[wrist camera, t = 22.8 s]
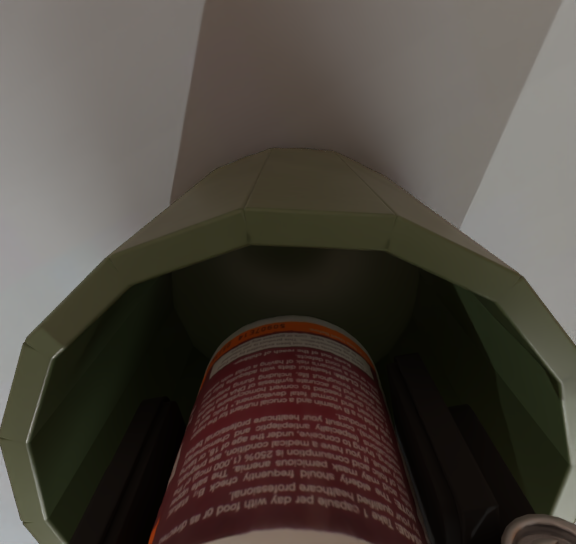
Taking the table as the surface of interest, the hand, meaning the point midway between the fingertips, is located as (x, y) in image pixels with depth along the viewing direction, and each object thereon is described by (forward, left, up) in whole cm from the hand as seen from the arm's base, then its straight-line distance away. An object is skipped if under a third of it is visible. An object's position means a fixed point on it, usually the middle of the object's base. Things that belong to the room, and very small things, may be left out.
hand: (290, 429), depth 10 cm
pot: (0, 0, -9) cm, 9 cm away
